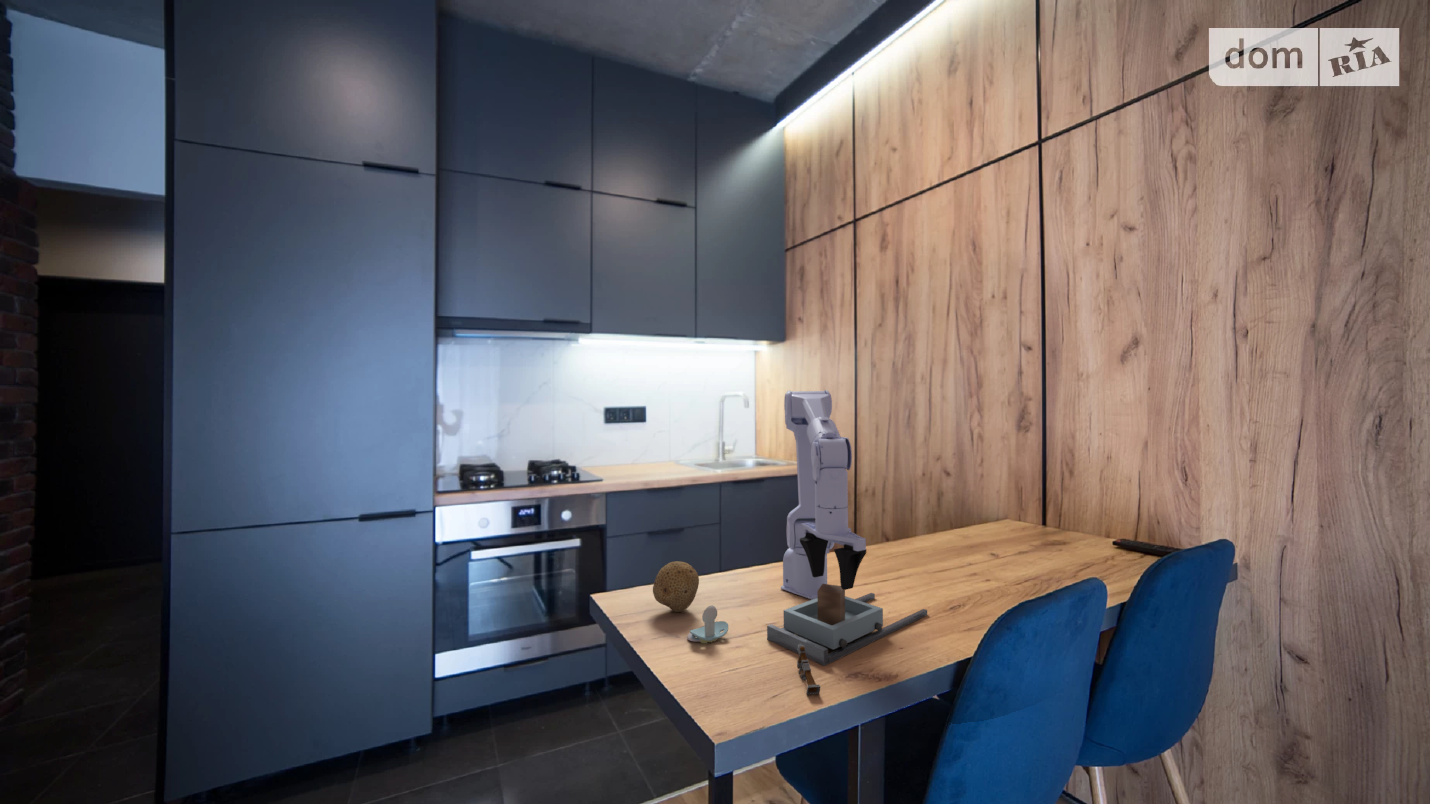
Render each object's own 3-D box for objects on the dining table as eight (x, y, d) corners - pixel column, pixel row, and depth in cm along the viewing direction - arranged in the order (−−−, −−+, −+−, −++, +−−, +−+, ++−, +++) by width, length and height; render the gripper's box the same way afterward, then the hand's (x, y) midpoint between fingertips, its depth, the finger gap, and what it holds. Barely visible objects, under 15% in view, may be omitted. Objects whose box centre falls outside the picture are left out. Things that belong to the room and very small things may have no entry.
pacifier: (679, 640, 95) (700, 650, 91) (678, 604, 95) (699, 613, 91) (711, 628, 100) (733, 638, 95) (710, 594, 100) (732, 602, 95)
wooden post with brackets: (803, 660, 85) (806, 639, 83) (817, 707, 78) (820, 685, 76) (791, 661, 85) (794, 640, 83) (804, 708, 77) (808, 686, 76)
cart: (780, 626, 96) (780, 609, 97) (830, 607, 105) (830, 591, 105) (837, 651, 87) (836, 631, 87) (886, 627, 96) (886, 609, 96)
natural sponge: (661, 624, 101) (660, 571, 101) (647, 608, 109) (646, 558, 110) (705, 616, 105) (705, 564, 105) (688, 600, 113) (688, 553, 113)
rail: (767, 639, 94) (767, 625, 94) (871, 597, 114) (871, 586, 114) (824, 666, 85) (824, 650, 85) (927, 615, 104) (927, 602, 104)
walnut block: (817, 624, 95) (817, 590, 95) (823, 616, 98) (822, 583, 99) (840, 628, 93) (840, 593, 93) (845, 619, 97) (844, 586, 97)
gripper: (878, 510, 92) (879, 590, 92) (821, 497, 104) (822, 567, 104) (847, 514, 88) (848, 597, 88) (792, 501, 101) (793, 573, 101)
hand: (832, 582), depth 96 cm, fingers open, 7 cm apart
